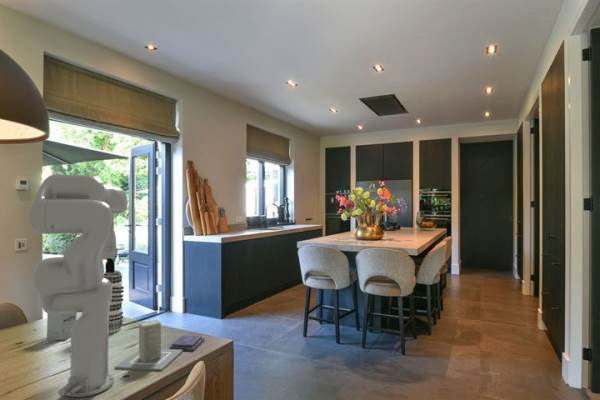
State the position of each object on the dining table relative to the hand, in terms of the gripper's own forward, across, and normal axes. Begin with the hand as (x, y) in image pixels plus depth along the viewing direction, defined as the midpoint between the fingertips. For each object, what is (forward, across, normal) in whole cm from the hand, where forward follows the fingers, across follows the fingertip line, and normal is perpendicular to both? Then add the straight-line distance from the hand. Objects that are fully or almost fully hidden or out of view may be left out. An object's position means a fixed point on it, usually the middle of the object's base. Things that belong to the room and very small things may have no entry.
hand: (101, 275), depth 129 cm
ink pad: (+28, +12, -27) cm, 41 cm away
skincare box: (+28, -2, -20) cm, 34 cm away
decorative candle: (+28, +26, +13) cm, 41 cm away
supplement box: (+29, +16, +28) cm, 43 cm away
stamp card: (+28, -2, -20) cm, 35 cm away
